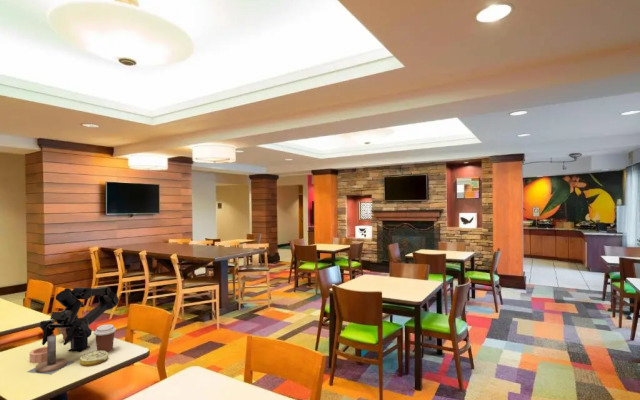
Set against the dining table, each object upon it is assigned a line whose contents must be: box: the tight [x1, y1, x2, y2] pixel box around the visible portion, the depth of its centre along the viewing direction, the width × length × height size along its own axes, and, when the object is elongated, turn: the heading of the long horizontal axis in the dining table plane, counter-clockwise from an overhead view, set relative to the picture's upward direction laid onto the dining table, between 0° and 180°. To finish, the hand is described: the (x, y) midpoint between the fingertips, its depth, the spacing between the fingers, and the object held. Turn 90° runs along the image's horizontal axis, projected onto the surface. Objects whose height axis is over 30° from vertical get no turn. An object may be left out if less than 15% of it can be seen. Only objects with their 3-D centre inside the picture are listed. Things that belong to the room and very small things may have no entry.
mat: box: [26, 360, 75, 375], centre depth 155 cm, size 12×12×1 cm
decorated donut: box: [79, 350, 109, 367], centre depth 160 cm, size 10×11×4 cm
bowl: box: [29, 345, 47, 364], centre depth 162 cm, size 9×9×4 cm
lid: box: [34, 334, 68, 374], centre depth 155 cm, size 11×11×13 cm
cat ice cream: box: [60, 307, 79, 341], centre depth 183 cm, size 9×8×18 cm
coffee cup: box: [93, 324, 117, 354], centre depth 171 cm, size 9×9×12 cm
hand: (53, 344), depth 156 cm, fingers open, 9 cm apart
